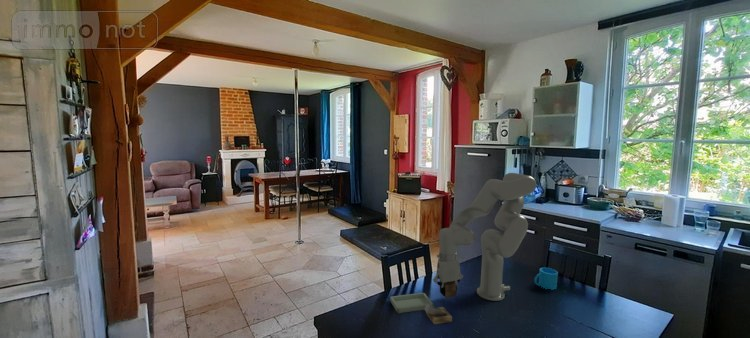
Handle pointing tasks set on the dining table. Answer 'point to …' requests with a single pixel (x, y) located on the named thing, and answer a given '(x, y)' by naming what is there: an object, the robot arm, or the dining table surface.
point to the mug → (547, 278)
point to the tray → (410, 302)
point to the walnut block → (450, 289)
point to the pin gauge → (434, 310)
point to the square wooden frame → (440, 319)
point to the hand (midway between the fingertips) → (448, 293)
